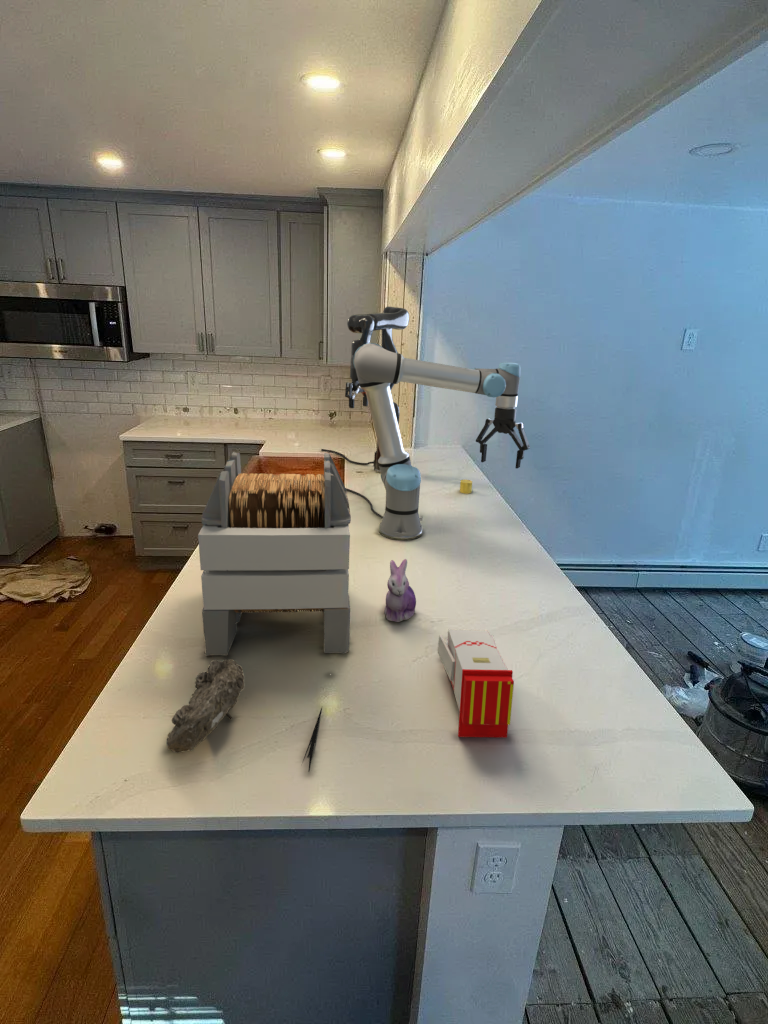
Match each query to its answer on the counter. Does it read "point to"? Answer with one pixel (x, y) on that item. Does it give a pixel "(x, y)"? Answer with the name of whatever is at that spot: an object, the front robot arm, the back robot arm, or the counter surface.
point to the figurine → (399, 594)
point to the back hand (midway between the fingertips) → (358, 407)
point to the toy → (478, 682)
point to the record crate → (275, 551)
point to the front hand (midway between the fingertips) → (500, 464)
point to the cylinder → (466, 486)
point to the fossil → (206, 705)
